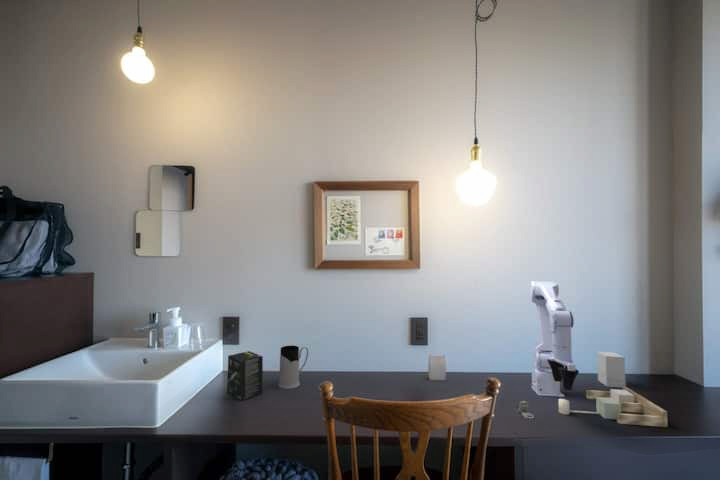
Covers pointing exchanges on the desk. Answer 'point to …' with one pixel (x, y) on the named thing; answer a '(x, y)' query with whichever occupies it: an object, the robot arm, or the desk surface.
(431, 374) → the beige box
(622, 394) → the grey block
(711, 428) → the desk surface
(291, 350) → the grey mug
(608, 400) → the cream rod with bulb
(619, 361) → the supplement box
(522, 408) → the strap clip
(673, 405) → the desk surface
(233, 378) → the tampon box
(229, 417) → the desk surface
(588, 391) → the lane rack
